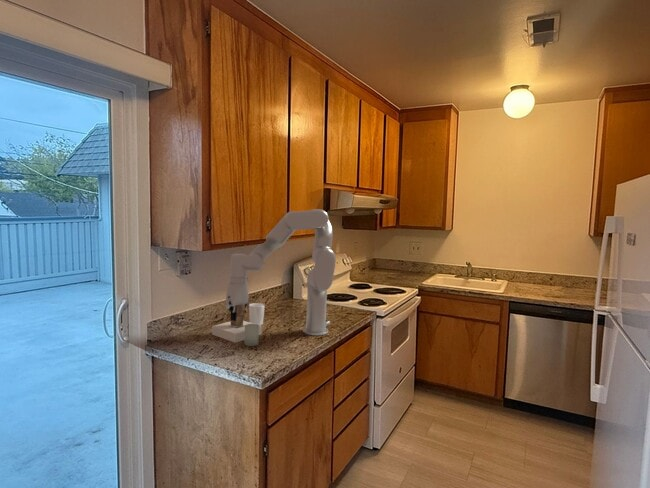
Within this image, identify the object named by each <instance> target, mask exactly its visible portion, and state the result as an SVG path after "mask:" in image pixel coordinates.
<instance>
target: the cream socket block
mask: <svg viewBox="0 0 650 488" xmlns="http://www.w3.org/2000/svg"><path fill="white" fill-rule="evenodd" d="M247 324H253V323H250V321H245V320H243V325H240V326H237V327H236V326H233V325H231V320H230V321H228V322H227V321H226V322H223V323H222V322H221V323H220V324H219V323H218V324H215V325H212V327H211V335H213V336H215V337H218V338H221V339H224V340H226V341H229V342H232V343H239V342H241V341H244V339H245V325H247ZM262 331H263V330H262V325H259V336H260V335H262Z"/></svg>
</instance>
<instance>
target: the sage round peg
mask: <svg viewBox="0 0 650 488" xmlns="http://www.w3.org/2000/svg"><path fill="white" fill-rule="evenodd" d="M259 337H260V335H259V325H257V324H247V325H245V339H244V340H243V341H244V342H243V344H244V346H247V347H256V346H258V345H259Z"/></svg>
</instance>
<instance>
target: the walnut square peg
mask: <svg viewBox="0 0 650 488" xmlns="http://www.w3.org/2000/svg"><path fill="white" fill-rule="evenodd" d="M235 312H236V321H233V320H230V321H231V325H233V326H236V327H237V326H240V325H243V321H244V319H243V312H244V313H245V310H244V304H240V305H237V306H236V310H235Z"/></svg>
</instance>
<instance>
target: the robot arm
mask: <svg viewBox="0 0 650 488" xmlns="http://www.w3.org/2000/svg"><path fill="white" fill-rule="evenodd" d="M329 217H330V216H329V215H328V212H326V211H325V210H324V209H320V208H318V209H317V208H314V209H311V210H300V211H297V210H296V211H294V210H293V211H292V210H291V211H288V212H286V214H284V216H283V217H282V218H281V219H280V220H279V221H278V222H277V224H276V225H275V226H274V227H273V228H272V229H271V230H270V231H269V233H267V235H265V237H266V241H265V242H264V243H262V244H259V243H258V244H257V245H256V247H255V248H253V250H252V251H251V252H250V253H249V254H245V253H233V254H231V255H230V272H229V273H230V274H229V283H228V284H227V289H226V294H225V295H226V296H225V305H224V308H226V309H228V311H229V312H230V315H229V319H230V321H231V320H233V321H236V312H235V310H236V306H237V305H240V304H244V312H243V320H244V317H245V310H246V308H247V306H249V304H250V299H249V285H248V282H247V280H248V279H249V278H248V271H254V272H258V271H261V270H262V269H264V266H265V261H266V259H267V258H268V257H269V256H270V255H271V254H272V253H273V252H275V250H277V249H279V248H281V247H283V245H285V243H286V242H287V241H288V240H289V239H290V238H291V236H292V235H293V234H294V233H295V232H296V231H304V230H305V231H306V230H312V229H313V230H314V242H313V243H314V244H313V249H312V255H311V258H312V262H313V263H314V267H313V268H311V269H310V271H309V272H308V273H307V276H306V287H307V293H306V294H307V295H306V296H307V298H306V319H305V320H306V321H305V326H304V327H303V328H302V332H303V334H305V335H308V336H324V335H327V334H328V333H329V329H328V328H327V326H329V325H331V321H330V320H327V319H326V318H327V300H328V299H327V298H328V290H329V289H330V288H331V286H332V285H333V281H334V276H335V269H336V261H337V260H336V259H337V258H336V254H335V252H334V251H333V250H332V246H333V237H334V236H333V235H334V234H333V233H334V232H333V226H332V224H331V222H330V219H329ZM326 320H327V321H326Z"/></svg>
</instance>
